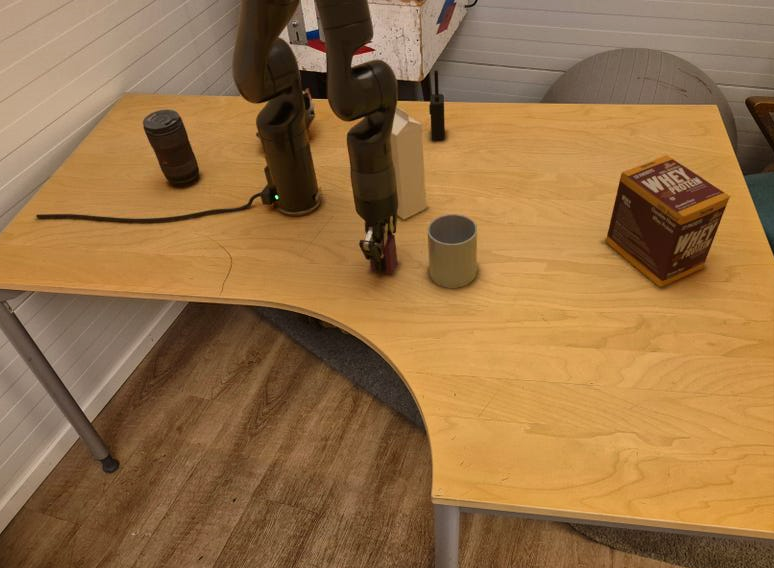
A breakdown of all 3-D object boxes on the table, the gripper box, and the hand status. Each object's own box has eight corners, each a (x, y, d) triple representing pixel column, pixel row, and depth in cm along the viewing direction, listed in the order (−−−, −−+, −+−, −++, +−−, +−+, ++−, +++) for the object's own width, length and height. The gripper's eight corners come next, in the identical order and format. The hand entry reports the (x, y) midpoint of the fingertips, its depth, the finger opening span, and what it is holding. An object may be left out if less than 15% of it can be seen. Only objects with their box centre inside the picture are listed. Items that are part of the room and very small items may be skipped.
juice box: (371, 271, 119) (365, 233, 113) (377, 260, 121) (372, 222, 115) (392, 274, 118) (387, 236, 112) (397, 264, 120) (393, 225, 113)
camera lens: (159, 186, 142) (133, 125, 131) (180, 167, 147) (157, 106, 136) (188, 193, 140) (164, 130, 129) (209, 173, 145) (187, 111, 134)
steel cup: (423, 283, 116) (421, 240, 109) (437, 253, 122) (435, 210, 114) (469, 291, 114) (469, 248, 107) (481, 261, 119) (482, 218, 112)
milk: (403, 220, 129) (394, 119, 112) (386, 207, 132) (375, 107, 116) (427, 208, 131) (421, 108, 115) (409, 195, 135) (401, 96, 118)
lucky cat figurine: (263, 126, 157) (277, 69, 150) (309, 144, 159) (325, 89, 152) (248, 140, 145) (263, 80, 138) (299, 160, 147) (315, 101, 140)
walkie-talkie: (444, 140, 148) (443, 77, 137) (430, 141, 148) (427, 78, 137) (444, 130, 151) (443, 67, 140) (430, 130, 152) (427, 68, 140)
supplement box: (660, 289, 112) (683, 216, 100) (604, 242, 121) (620, 170, 109) (704, 268, 115) (732, 196, 103) (647, 224, 124) (666, 153, 112)
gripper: (368, 160, 111) (378, 238, 124) (337, 206, 103) (351, 285, 116) (408, 165, 109) (414, 244, 123) (380, 213, 101) (390, 292, 114)
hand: (384, 263), depth 119 cm, fingers closed on juice box, 3 cm apart
